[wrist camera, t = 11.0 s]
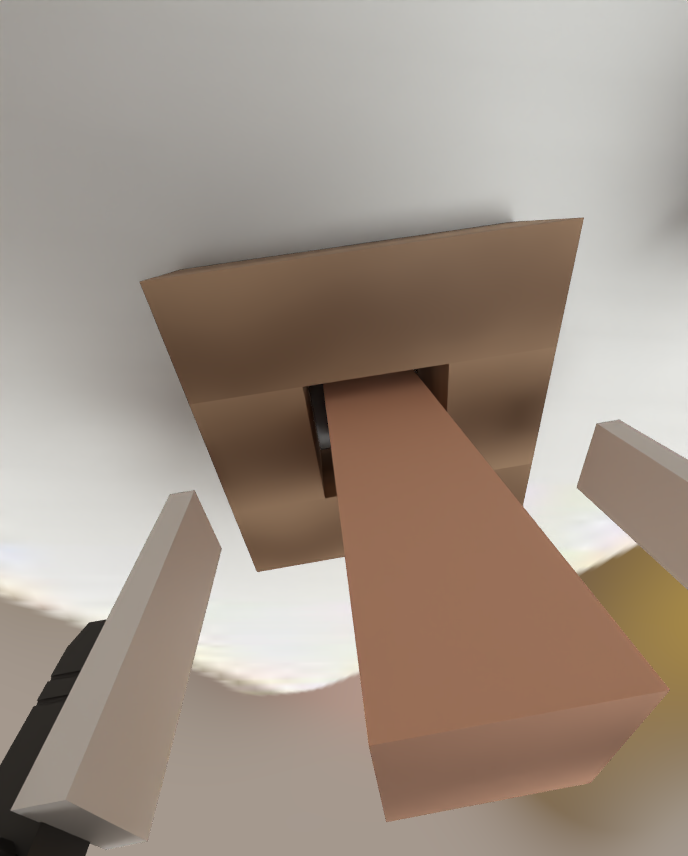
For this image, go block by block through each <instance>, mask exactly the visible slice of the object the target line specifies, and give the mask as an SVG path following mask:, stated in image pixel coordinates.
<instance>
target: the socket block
mask: <svg viewBox="0 0 688 856" xmlns="http://www.w3.org/2000/svg"><path fill="white" fill-rule="evenodd" d="M583 219H584V218H569V219H552V220H535V221H518V222H509V223H502V224H495V225H488V226H481V227H474V228H467V229H460V230H453V231H446V232H439V233H432V234H425V235H418V236H411V237H404V238H397V239H390V240H383V241H376V242H370V243H363V244H356V245H349V246H342V247H335V248H328V249H321V250H314V251H307V252H300V253H293V254H286V255H279V256H272V257H265V258H258V259H251V260H244V261H237V262H230V263H223V264H216V265H209V266H202V267H195V268H189V269H182V270H178V271H174V272H171V273H168V274H164V275H161V276H157V277H154V278H151V279H147V280H144V281H140V284H141V287H142V289H143V292H144V294H145V297H146V299H147V302H148V304H149V306H150V309H151V311H152V314H153V316H154V319H155V321H156V324H157V326H158V329H159V331H160V334H161V336H162V339H163V341H164V344H165V346H166V348H167V351H168V353H169V356H170V358H171V361H172V363H173V366H174V368H175V371H176V373H177V376H178V378H179V381H180V383H181V386H182V388H183V390H184V393H185V395H186V398H187V400H188V403H189V405H190V408H191V410H192V413H193V415H194V418H195V420H196V423H197V425H198V427H199V430H200V432H201V435H202V437H203V440H204V442H205V445H206V447H207V450H208V452H209V455H210V457H211V460H212V462H213V465H214V467H215V469H216V472H217V474H218V477H219V479H220V482H221V484H222V487H223V489H224V492H225V494H226V497H227V499H228V502H229V504H230V507H231V509H232V511H233V514H234V516H235V519H236V521H237V524H238V526H239V529H240V531H241V534H242V536H243V539H244V541H245V544H246V546H247V548H248V551H249V553H250V556H251V558H252V561H253V563H254V566H255V568H256V571H257V572H260V571H266V570H272V569H277V568H283V567H289V566H294V565H300V564H306V563H311V562H317V561H323V560H329V559H334V558H340V557H345V554H344V546H343V538H342V530H341V522H340V514H339V506H338V498H337V490H336V483H335V475H334V467H333V459H332V451H331V448H329V449H322V450H320V444H319V439H318V434H317V429H316V423H315V418H314V413H313V408H312V403H311V397H310V392H309V387H308V386H311V385H317V384H323V383H330V382H336V381H342V380H349V379H355V378H361V377H368V376H374V375H380V374H387V373H393V372H400V371H406V370H412V369H418V376H419V378H420V379H421V380H422V381H423V383H424V384H425V385H426V386H427V388H428V389H429V390H430V391H431V393H432V394H433V395H434V396H435V398H436V399H437V400H438V401H439V403H440V404H441V405H442V406H443V408H444V409H445V410H446V411H447V413H448V414H449V415H450V416H451V418H452V419H453V420H454V421H455V423H456V424H457V425H458V426H459V428H460V429H461V430H462V431H463V433H464V434H465V435H466V436H467V438H468V439H469V440H470V441H471V442H472V444H473V445H474V446H475V447H476V449H477V450H478V451H479V452H480V454H481V455H482V456H483V457H484V459H485V460H486V461H487V462H488V464H489V465H490V466H491V467H492V469H493V470H494V471H495V472H496V474H497V475H498V476H499V477H500V479H501V480H502V481H503V482H504V484H505V485H506V486H507V487H508V489H509V490H510V491H511V492H512V494H513V495H514V496H515V497H516V499H517V500H518V501H519V502H520V504H521V505H522V506H523V502H524V498H525V493H526V488H527V484H528V479H529V474H530V469H531V465H532V460H533V455H534V451H535V446H536V441H537V436H538V432H539V427H540V422H541V418H542V413H543V408H544V403H545V399H546V394H547V389H548V385H549V380H550V375H551V370H552V366H553V361H554V356H555V352H556V347H557V342H558V337H559V333H560V328H561V323H562V318H563V314H564V309H565V304H566V300H567V295H568V290H569V285H570V281H571V276H572V271H573V267H574V262H575V257H576V252H577V248H578V243H579V238H580V234H581V229H582V224H583Z"/></svg>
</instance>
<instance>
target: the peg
mask: <svg viewBox="0 0 688 856" xmlns="http://www.w3.org/2000/svg"><path fill="white" fill-rule="evenodd" d="M323 388H324V396H325V404H326V412H327V420H328V427H329V435H330V443H331V451H332V459H333V467H334V475H335V483H336V490H337V498H338V506H339V514H340V522H341V530H342V538H343V546H344V554H345V561H346V569H347V577H348V585H349V593H350V601H351V609H352V617H353V624H354V632H355V640H356V648H357V656H358V664H359V672H360V680H361V687H362V695H363V703H364V711H365V719H366V727H367V735H368V743H369V748H370V753H371V757H372V761H373V766H374V770H375V775H376V778H377V783H378V788H379V792H380V797H381V800H382V805H383V810H384V814H385V819H386V822H389V821H395V820H400V819H405V818H410V817H415V816H421V815H426V814H431V813H436V812H441V811H446V810H451V809H457V808H462V807H467V806H473V805H477V804H483V803H488V802H493V801H498V800H504V799H509V798H514V797H519V796H525V795H530V794H535V793H540V792H545V791H550V790H556V789H561V788H566V787H571V786H577V785H582V784H587V783H591V782H592V781H593V780H594V778H595V777H596V776H597V775H598V773H600V771H601V770H602V769H603V768H604V767H605V765H606V764H607V763H608V762H609V761H610V760H611V758H612V757H613V756H614V755H615V753H616V752H617V751H618V750H619V749H620V748H621V746H623V744H624V743H625V742H626V741H627V740H628V739H629V737H630V736H631V735H632V734H633V733H634V732H635V730H636V729H637V728H638V727H639V726H640V724H641V723H642V722H643V720H645V719H646V717H647V716H648V715H649V714H650V713H651V711H652V710H653V709H654V708H655V707H656V706H657V704H658V703H659V702H660V701H661V700H662V699H663V698H664V696H665V695H666V694H667V693H668V691H670V689H669V688H668V687H667V686H666V684H665V683H664V682H663V681H662V680H661V678H660V677H659V676H658V674H657V673H656V672H655V671H654V669H653V668H652V667H651V666H650V664H649V663H648V662H647V661H646V659H645V658H644V657H643V656H642V654H641V653H640V652H639V651H638V649H637V648H636V647H635V646H634V645H633V643H632V642H631V641H630V639H629V638H628V637H627V636H626V634H625V633H624V632H623V631H622V629H621V628H620V627H619V626H618V625H617V623H616V622H615V621H614V619H613V618H612V617H611V616H610V615H609V613H608V612H607V611H606V609H605V608H604V607H603V606H602V605H601V603H600V602H599V601H598V600H597V598H596V597H595V596H594V595H593V593H592V592H591V591H590V590H589V588H588V587H587V586H586V585H585V583H584V582H583V581H582V580H581V578H580V577H579V576H578V575H577V573H576V572H575V571H574V570H573V568H572V567H571V566H570V565H569V563H568V562H567V561H566V560H565V558H564V557H563V556H562V555H561V553H560V552H559V551H558V550H557V548H556V547H555V546H554V545H553V543H552V542H551V541H550V540H549V538H548V537H547V536H546V535H545V533H544V532H543V531H542V530H541V528H540V527H539V526H538V525H537V524H536V522H535V521H534V520H533V519H532V517H531V516H530V515H529V514H528V512H527V511H526V510H525V509H524V507H523V506H522V505H521V504H520V502H519V501H518V500H517V499H516V497H515V496H514V495H513V494H512V492H511V491H510V490H509V489H508V487H507V486H506V485H505V484H504V482H503V481H502V480H501V479H500V477H499V476H498V475H497V474H496V472H495V471H494V470H493V469H492V467H491V466H490V465H489V464H488V462H487V461H486V460H485V459H484V457H483V456H482V455H481V454H480V452H479V451H478V450H477V449H476V447H475V446H474V445H473V444H472V442H471V441H470V440H469V439H468V438H467V436H466V435H465V434H464V433H463V431H462V430H461V429H460V428H459V426H458V425H457V424H456V423H455V421H454V420H453V419H452V418H451V416H450V415H449V414H448V413H447V411H446V410H445V409H444V408H443V406H442V405H441V404H440V403H439V401H438V400H437V399H436V398H435V396H434V395H433V394H432V393H431V391H430V390H429V389H428V388H427V386H426V385H425V384H424V383H423V381H422V380H421V379H420V378H419V376H418V375H417V374H416V373H415V371H414V370H413V369H412V370H406V371H400V372H393V373H387V374H380V375H374V376H368V377H361V378H355V379H349V380H342V381H336V382H330V383H323Z"/></svg>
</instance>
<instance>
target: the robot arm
mask: <svg viewBox="0 0 688 856" xmlns="http://www.w3.org/2000/svg"><path fill="white" fill-rule="evenodd" d="M577 488H578V489H579V490H580V491H581V492H582V493H583V494H584V495H585V496H586V497H587V498H589V499H590V500H591V501H592V502H593V503H594V504H595V505H596V506H597V507H598V508H599V509H600V510H602V511H603V512H604V513H605V514H606V515H607V516H608V517H609V518H610V519H611V520H612V521H614V522H615V523H616V524H617V525H618V526H619V527H620V528H621V529H622V530H623V531H624V532H625V533H627V534H628V535H629V536H630V537H631V538H632V539H633V540H634V541H635V542H636V543H637V544H639V545H640V546H641V547H642V548H643V549H644V550H645V551H646V552H647V553H648V554H649V555H650V556H652V557H653V558H654V559H655V560H656V561H657V562H658V563H659V564H660V565H661V566H662V567H663V568H665V569H666V570H667V571H668V572H669V573H670V574H671V575H672V576H673V577H675V579H677V580H678V581H679V582H680V583H681V584H682V585H683V586H684V587H685V588H686V589H687V590H688V460H687V459H686V458H684V457H682V456H680V455H679V454H677V453H675V452H674V451H672V450H670V449H668V448H667V447H665V446H663V445H662V444H660V443H658V442H656V441H655V440H653V439H651V438H650V437H648V436H646V435H644V434H643V433H641V432H639V431H638V430H636V429H634V428H633V427H631V426H629V425H627V424H626V423H624V422H622V421H621V420H614V421H608V422H602V423H597V424H596V427H595V430H594V434H593V437H592V440H591V443H590V446H589V450H588V453H587V456H586V459H585V462H584V465H583V469H582V472H581V475H580V478H579V481H578V485H577ZM221 549H222V548H221V546H220V544H219V542H218V540H217V538H216V535H215V533H214V531H213V529H212V527H211V525H210V523H209V520H208V518H207V516H206V514H205V512H204V510H203V507H202V505H201V503H200V501H199V499H198V497H197V495H196V492H195V490H193V491H187V492H181V493H175V494H170V495H169V497H168V499H167V501H166V503H165V505H164V507H163V509H162V511H161V513H160V515H159V517H158V519H157V521H156V523H155V525H154V527H153V529H152V531H151V533H150V535H149V537H148V539H147V541H146V543H145V545H144V547H143V549H142V551H141V553H140V555H139V557H138V559H137V561H136V563H135V565H134V566H133V568H132V570H131V572H130V574H129V576H128V578H127V580H126V582H125V584H124V586H123V588H122V590H121V592H120V594H119V596H118V598H117V600H116V602H115V604H114V606H113V608H112V610H111V612H110V614H109V616H108V618H107V620H101V621H95V622H90V623H88V624H87V626H86V627H85V628H84V629H83V630H82V631H81V633H80V634H79V635H78V636H77V637H76V638H75V639H74V640H73V641H72V642H71V644H70V645H69V646H68V647H67V649H66V650H65V652H64V654H63V656H62V657H61V659H60V661H59V663H58V664H57V666H56V668H55V670H54V671H53V673H52V675H51V680H50V681H49V682H47V684H46V685H45V687H44V689H43V691H42V693H41V694H40V696H39V698H38V700H37V701H38V703H37V705H36V706H34V707H33V709H32V710H31V712H30V714H29V716H28V717H27V719H26V721H25V723H24V724H23V726H22V728H21V730H20V731H19V733H18V735H17V737H16V739H15V740H14V742H13V744H12V746H11V747H10V749H9V751H8V753H7V755H6V756H5V758H4V760H3V761H2V763H1V765H0V856H85V855H86V852H87V849H88V847H89V844H93V845H95V846H98V847H100V848H103V849H105V850H107V849H112V848H117V847H122V846H127V845H132V844H137V843H141V842H147V841H148V838H149V834H150V830H151V826H152V822H153V818H154V814H155V810H156V806H157V802H158V798H159V794H160V790H161V787H162V783H163V779H164V774H165V771H166V767H167V763H168V758H169V755H170V750H171V747H172V743H173V739H174V735H175V731H176V727H177V723H178V719H179V715H180V711H181V707H182V704H183V700H184V696H185V691H186V688H187V684H188V680H189V676H190V672H191V668H192V664H193V660H194V656H195V652H196V648H197V644H198V640H199V636H200V632H201V628H202V624H203V621H204V617H205V613H206V609H207V605H208V601H209V597H210V593H211V589H212V585H213V581H214V577H215V573H216V569H217V565H218V561H219V557H220V553H221Z"/></svg>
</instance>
